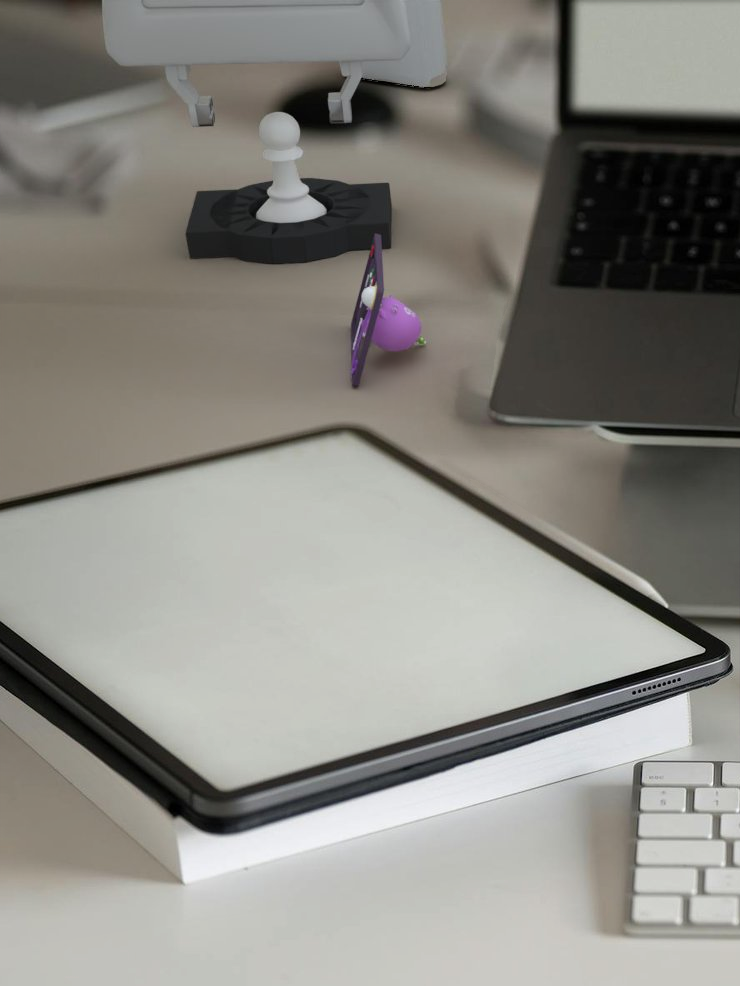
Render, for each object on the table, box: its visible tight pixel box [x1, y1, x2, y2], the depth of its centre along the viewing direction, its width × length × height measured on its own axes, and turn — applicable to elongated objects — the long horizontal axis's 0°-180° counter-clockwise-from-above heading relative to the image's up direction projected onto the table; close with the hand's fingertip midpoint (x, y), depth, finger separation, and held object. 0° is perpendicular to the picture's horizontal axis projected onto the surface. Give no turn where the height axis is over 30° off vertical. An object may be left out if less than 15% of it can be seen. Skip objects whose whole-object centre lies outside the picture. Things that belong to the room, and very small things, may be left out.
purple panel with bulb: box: [350, 234, 427, 387], centre depth 108 cm, size 7×5×9 cm
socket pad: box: [185, 177, 393, 265], centre depth 125 cm, size 14×11×2 cm
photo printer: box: [338, 0, 448, 88], centre depth 152 cm, size 10×4×12 cm, turn 69°
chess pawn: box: [256, 111, 327, 223], centre depth 123 cm, size 5×5×9 cm
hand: (273, 122), depth 120 cm, fingers open, 8 cm apart
